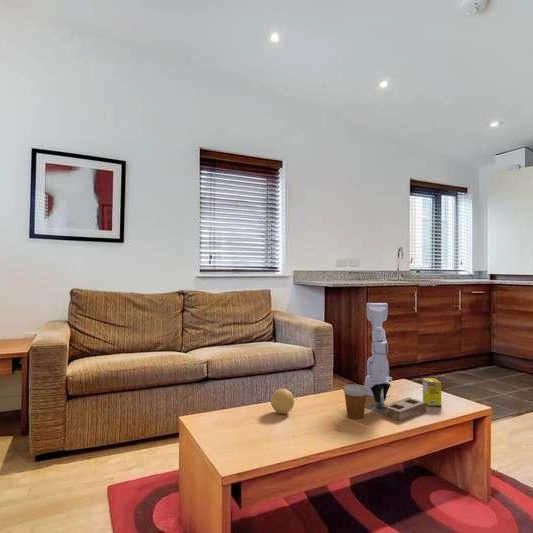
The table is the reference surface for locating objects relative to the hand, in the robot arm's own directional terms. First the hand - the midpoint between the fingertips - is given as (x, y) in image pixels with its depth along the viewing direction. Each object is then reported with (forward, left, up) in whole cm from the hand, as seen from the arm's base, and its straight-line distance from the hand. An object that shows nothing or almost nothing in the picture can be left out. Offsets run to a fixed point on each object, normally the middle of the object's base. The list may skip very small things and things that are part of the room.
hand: (380, 400), depth 162 cm
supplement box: (+11, +22, -3) cm, 25 cm away
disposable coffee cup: (0, -16, -3) cm, 16 cm away
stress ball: (-21, -37, -3) cm, 43 cm away
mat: (0, 0, -3) cm, 3 cm away
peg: (0, 0, -3) cm, 3 cm away
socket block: (+10, +3, -3) cm, 11 cm away
